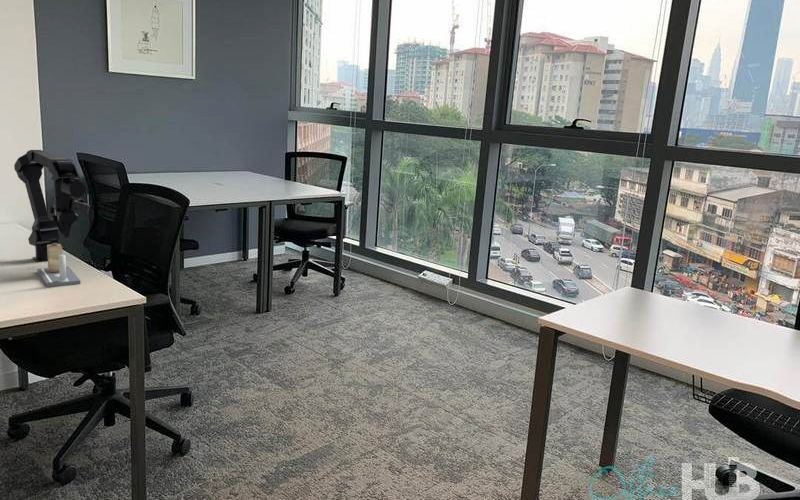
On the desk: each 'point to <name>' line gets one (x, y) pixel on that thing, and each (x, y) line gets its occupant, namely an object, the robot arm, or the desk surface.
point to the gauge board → (54, 279)
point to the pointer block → (54, 256)
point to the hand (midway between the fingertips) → (65, 235)
